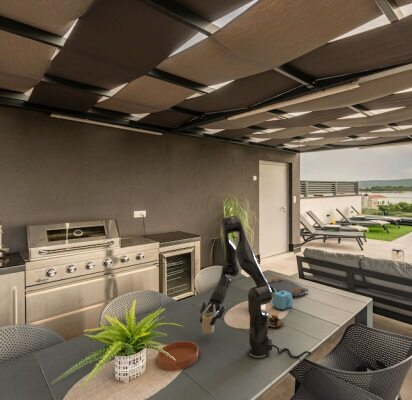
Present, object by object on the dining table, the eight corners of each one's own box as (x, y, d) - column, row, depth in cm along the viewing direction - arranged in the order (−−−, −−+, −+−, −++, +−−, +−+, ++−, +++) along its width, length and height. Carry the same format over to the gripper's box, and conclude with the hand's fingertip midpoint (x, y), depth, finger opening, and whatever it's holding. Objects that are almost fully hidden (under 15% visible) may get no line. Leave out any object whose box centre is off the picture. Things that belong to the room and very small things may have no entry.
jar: (214, 328, 152) (214, 312, 152) (213, 333, 146) (213, 317, 145) (203, 328, 151) (203, 313, 151) (201, 334, 145) (201, 318, 145)
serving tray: (262, 286, 238) (262, 278, 238) (283, 281, 251) (284, 275, 251) (289, 300, 206) (289, 292, 206) (312, 294, 218) (312, 287, 218)
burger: (260, 321, 170) (261, 309, 170) (278, 319, 174) (278, 307, 174) (267, 330, 159) (267, 317, 159) (286, 327, 163) (286, 315, 163)
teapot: (279, 300, 205) (279, 285, 205) (296, 308, 191) (296, 292, 191) (266, 304, 197) (266, 288, 197) (283, 313, 183) (283, 296, 183)
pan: (201, 347, 140) (201, 340, 140) (194, 369, 122) (194, 361, 122) (164, 348, 139) (165, 341, 139) (152, 371, 121) (152, 363, 121)
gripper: (206, 289, 158) (192, 318, 147) (227, 293, 152) (214, 323, 141) (211, 295, 163) (198, 323, 152) (232, 299, 157) (220, 329, 146)
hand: (206, 323), depth 147 cm, fingers closed on jar, 6 cm apart
